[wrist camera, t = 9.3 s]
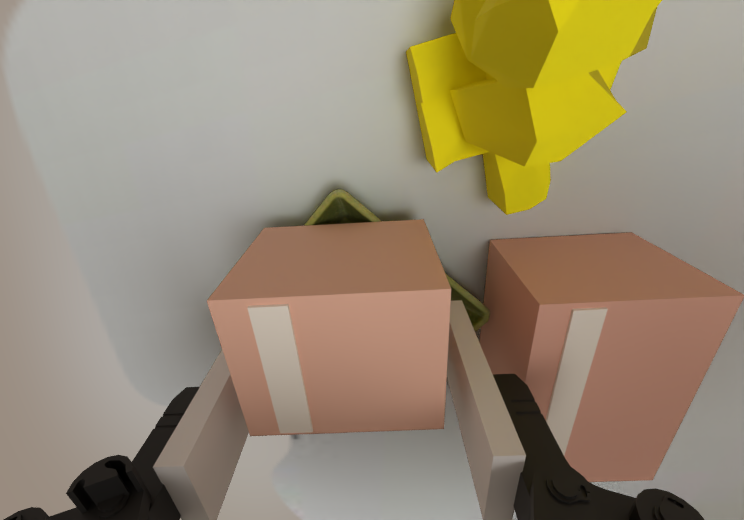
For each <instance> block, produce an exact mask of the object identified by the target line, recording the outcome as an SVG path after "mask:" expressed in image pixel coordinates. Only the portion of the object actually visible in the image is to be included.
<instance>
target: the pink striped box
mask: <svg viewBox="0 0 744 520" xmlns="http://www.w3.org/2000/svg"><path fill="white" fill-rule="evenodd" d="M743 298H744V295H743V294H742V293H740V292H738V291H736V290H734V289H733V288H731V287H729V286H727V285H725V284H724V283H722V282H720V281H718V280H716V279H715V278H713V277H711V276H709V275H707V274H706V273H704V272H702V271H700V270H698V269H697V268H695V267H693V266H691V265H689V264H688V263H686V262H684V261H682V260H680V259H679V258H677V257H675V256H673V255H671V254H670V253H668V252H666V251H664V250H662V249H661V248H659V247H657V246H655V245H653V244H652V243H650V242H648V241H646V240H644V239H643V238H641V237H639V236H637V235H635V234H634V233H632V232H630V233H611V234H592V235H573V236H553V237H534V238H515V239H496V240H490V243H489V253H488V263H487V273H486V283H485V293H484V302H483V305H485V306H486V307H487V308H488V309H489V310H490V317H489V320H488V322H487V323H485V324H484V325H483V326H482V327H481V332H480V342H479V343H480V345H481V348H482V350H483V353H484V355H485V357H486V360H487V362H488V365H489V367H490V369H491V372H492V374H516V375H517V376H518V377H519V378H520V379H521V380H522V381H523V382H524V383H525V384H527V385H528V387H529V389H530V391H531V393H532V395H533V397H534V399H535V402H536V403H537V405H538V407H539V409H540V411H541V414H543V416H544V418H545V420H546V422H547V424H548V426H549V428H550V430H551V432H552V434H553V436H554V438H555V439H556V441H557V443H558V445H559V447H560V449H561V451H562V453H563V455H564V457H565V459H566V460H567V462H568V463H569V465H570V466H571V467H572V468H574V469H575V470H576V471H577V472H579V473H580V474H581V475H582V476H584V478H585V479H586V480H587V481H588V482H604V481H638V480H653V478H654V476H655V474H656V472H657V470H658V468H659V466H660V464H661V462H662V460H663V458H664V456H665V454H666V452H667V450H668V448H669V446H670V444H671V442H672V440H673V438H674V436H675V434H676V432H677V430H678V428H679V426H680V424H681V422H682V420H683V418H684V416H685V414H686V412H687V410H688V408H689V406H690V404H691V402H692V400H693V398H694V396H695V394H696V392H697V390H698V388H699V386H700V384H701V382H702V380H703V378H704V376H705V374H706V372H707V370H708V368H709V366H710V364H711V362H712V360H713V358H714V356H715V354H716V352H717V350H718V348H719V346H720V344H721V342H722V340H723V338H724V336H725V334H726V332H727V330H728V328H729V326H730V324H731V322H732V320H733V318H734V316H735V314H736V312H737V310H738V308H739V306H740V304H741V302H742V300H743Z"/></svg>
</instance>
